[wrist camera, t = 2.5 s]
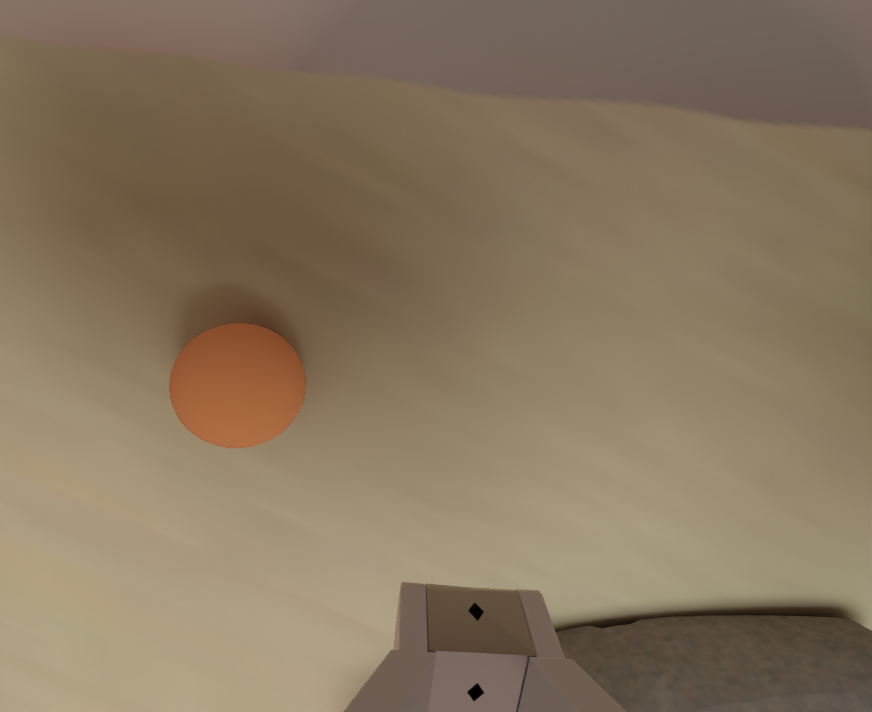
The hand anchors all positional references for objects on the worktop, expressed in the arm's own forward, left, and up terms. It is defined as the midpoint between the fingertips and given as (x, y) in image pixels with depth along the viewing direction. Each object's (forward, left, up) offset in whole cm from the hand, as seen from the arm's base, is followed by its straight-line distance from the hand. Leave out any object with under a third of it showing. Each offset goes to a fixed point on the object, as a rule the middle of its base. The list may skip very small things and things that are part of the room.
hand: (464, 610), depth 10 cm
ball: (+9, 0, -11) cm, 14 cm away
